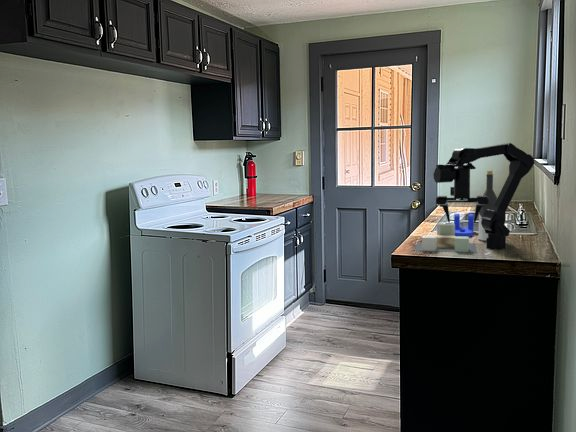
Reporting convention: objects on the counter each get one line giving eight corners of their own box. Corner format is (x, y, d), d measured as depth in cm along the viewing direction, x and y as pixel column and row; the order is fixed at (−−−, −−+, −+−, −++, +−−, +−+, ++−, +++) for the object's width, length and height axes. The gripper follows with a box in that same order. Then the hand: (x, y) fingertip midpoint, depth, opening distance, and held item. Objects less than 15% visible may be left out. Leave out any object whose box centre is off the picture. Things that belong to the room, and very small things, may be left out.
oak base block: (454, 244, 221) (454, 234, 221) (454, 247, 214) (454, 237, 214) (436, 244, 223) (436, 234, 223) (436, 247, 216) (436, 237, 216)
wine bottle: (500, 244, 224) (502, 171, 220) (479, 244, 226) (481, 171, 222) (497, 241, 232) (498, 170, 228) (477, 240, 233) (478, 170, 230)
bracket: (455, 231, 261) (455, 212, 260) (473, 231, 258) (473, 212, 257) (451, 237, 245) (452, 217, 243) (471, 238, 242) (471, 217, 240)
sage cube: (468, 249, 211) (468, 236, 210) (468, 251, 206) (468, 238, 205) (454, 249, 212) (454, 236, 211) (454, 251, 207) (454, 238, 207)
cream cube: (436, 248, 214) (436, 235, 213) (435, 250, 209) (435, 238, 209) (422, 248, 216) (422, 235, 215) (422, 250, 211) (422, 237, 210)
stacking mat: (475, 245, 223) (475, 223, 221) (477, 255, 204) (477, 231, 203) (417, 244, 229) (417, 223, 228) (413, 253, 210) (413, 230, 209)
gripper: (487, 179, 211) (486, 219, 213) (437, 180, 216) (437, 219, 218) (488, 181, 200) (488, 224, 202) (436, 182, 206) (436, 223, 208)
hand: (461, 222), depth 208 cm, fingers open, 9 cm apart
